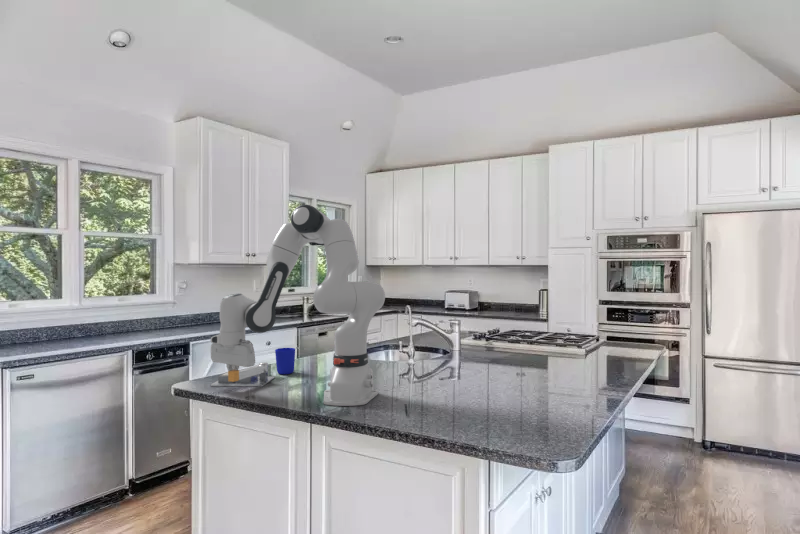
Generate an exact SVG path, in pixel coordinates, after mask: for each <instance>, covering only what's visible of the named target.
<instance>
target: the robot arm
mask: <svg viewBox="0 0 800 534" xmlns="http://www.w3.org/2000/svg"><path fill="white" fill-rule="evenodd" d="M352 232H353V231H352V230H351V227H350V224H349V223H348V222H347V221H346V220H344V219H342V218H334V219H330V218H329V217H328V216H327V215H326V214H325V213H323V212H322V211H320V210H319V209H317V208H316V207H315V206H312V205H310V204H301V205H298V206H296V207H295V209H294V210H293V211H292V213H291V215H290V222H286V223H284V224H282V226H281V227H280V228H279V231H278V232H277V233H276V234H275V237H274V239H273V241H272V243H271V245H270V247H269V250H268V252H267V256H266V260H265V261H266V268H267V270H266V271H267V277H266V281H265V283H264V286H263V288H262V290H261V293H260V295H259V298H258V300H254V299H252V298H249V297H247V296H245V295H244V294H242V293H231V294H227V295H225V296H224V297H222V299H221V300H220V305H219V322H220V327H219V334H216V335H213V336H211V337H210V343H211V345H210V359H211V362H213V363H219V364H224V365H226V366H225V367H226V370H227V372H228V371H230V370H239V369H240V367H244V368H249V367H253V366H255V363H256V355H255V349H254V344H253V343H252V342H251V340H249V339H246V328H248V329H249V330H250V331H252V332H254V333H257V334H262V333H266V332H268V331H270V330H271V329H272V328H273V327H274V326H275V323H276V319H277V318H276V315H277V314H276V307H277V303H278V301H279V299H280V296H281V293H282V292H283V288H284V285H285V283H286V281H287V279H288V277H289V276H290V274H291V272H292V270H294V267H295V266H296V264H297V261H298V259H299V258H300V255H301V252H302V250H303V248H304V247H305V245H306V244H309V246H321V247H324V251H325V257H326V265H327V266H326V267H327V271H326V275H325V277H324V279H323V281H322V282H321V283H320V284H319V285H318V286H317V287H316V288H315V290H314V291H313V296H312V301H313V304H314V307H315V309H316V310H317V311H318V312H319V313H321V314H328V315H343V314H344V315H345V314H349V315H348V318H347V320H346V321H345V322H344V323H343V324H341V325H340V326H338V327H337V329H335V332H334V353H333V358H332V361H333V363H332V364H333V366H332V367H331V368H330V369H329V370H330V371H329V372H330V382H328V383H327V386H328V387H329V389H325V390H324V392H323V405H327V406H336V407H337V406H338V407H339V406H340V407H342V406H343V407H344V406H345V407H347V406H349V407H351V406H353V407H354V406H364V405H366V404H368V403H369V402H371V401H372V400H373V399H374V398H375V397H376V396H377V395H378V394H379V390H378V389H374V376H373V374H374V373H373V372H374V371H373V368H371V367H370V366H369V364H368V363H369V356H368V355H369V354H368V351H367V349H368V348H367V347H368V346H367V345H368V344H367V343H368V342H367V340H368V339H367V338H368V331H369V330H368V329H369V326H370V324H371V321H372V319H373V317H374V316H375V315H376V313H378V311H379V310H380V309H382V307H383V306H384V304H385V300H386V293H385V290H384V287H383V286H382V285H381V284H380V283H377V282H373V281H360V280H359V281H349V280H348V276H349V275H351V274H353V273H354V272H356V270H357V269H358V267H359V263H360V262H359V256H358V251H357V246H356V242H355V238H354V235H353V233H352Z"/></svg>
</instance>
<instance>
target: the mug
mask: <svg viewBox="0 0 800 534" xmlns="http://www.w3.org/2000/svg"><path fill="white" fill-rule="evenodd" d="M274 351H275V352H274V353H275V362H276V372H277V373H278V375H289V374H293V373H294V371H295V364H296V363H295V361H296V348H294V347H279V348H276V349H275V350H274Z"/></svg>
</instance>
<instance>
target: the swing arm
mask: <svg viewBox="0 0 800 534" xmlns="http://www.w3.org/2000/svg"><path fill="white" fill-rule="evenodd" d="M227 372H228V381H231V382H235V381H238V380H241V379H244V378H247V377H251V376H254V375H257V374H258V375H260V373H264V372H268V373H269V364H268V362H259V364H257V365H254V366H250V367H245V368H243V369H240V370H239V369H238V370H230V371H228V370H227Z"/></svg>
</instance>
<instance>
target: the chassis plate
mask: <svg viewBox="0 0 800 534" xmlns="http://www.w3.org/2000/svg"><path fill="white" fill-rule="evenodd" d="M268 373H269V371H268V372H264V373H260V374H257V375H254V376H251V377H247V378H244V379H241V380H238V381H235V382H231V381H228V371H226V372H224V373H222V374H220V375H218V377H217V381H215V382H213V383H211V384H210V387H264V386H266V384H268V383H270V382H271V381H272V380H273V379H275V376H271V375H270V376H269V375H268Z"/></svg>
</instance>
